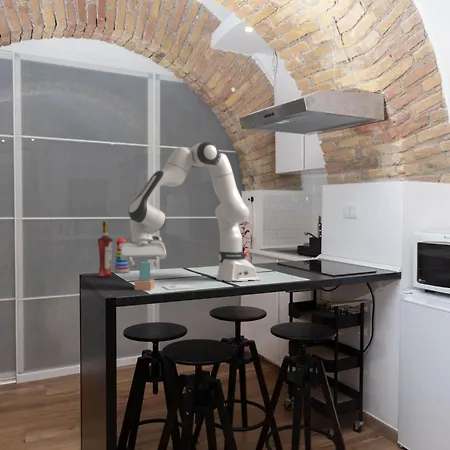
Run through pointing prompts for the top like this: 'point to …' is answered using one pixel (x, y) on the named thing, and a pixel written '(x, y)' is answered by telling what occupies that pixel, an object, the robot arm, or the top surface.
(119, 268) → the stacking toy
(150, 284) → the base brick
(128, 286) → the top surface
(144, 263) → the teal brick
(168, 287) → the plate
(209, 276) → the top surface
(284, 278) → the top surface
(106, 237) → the liquor
